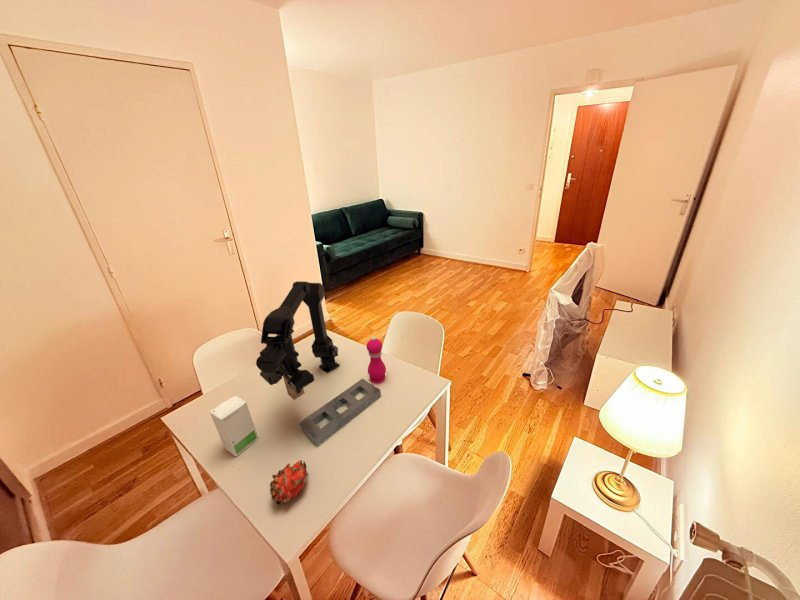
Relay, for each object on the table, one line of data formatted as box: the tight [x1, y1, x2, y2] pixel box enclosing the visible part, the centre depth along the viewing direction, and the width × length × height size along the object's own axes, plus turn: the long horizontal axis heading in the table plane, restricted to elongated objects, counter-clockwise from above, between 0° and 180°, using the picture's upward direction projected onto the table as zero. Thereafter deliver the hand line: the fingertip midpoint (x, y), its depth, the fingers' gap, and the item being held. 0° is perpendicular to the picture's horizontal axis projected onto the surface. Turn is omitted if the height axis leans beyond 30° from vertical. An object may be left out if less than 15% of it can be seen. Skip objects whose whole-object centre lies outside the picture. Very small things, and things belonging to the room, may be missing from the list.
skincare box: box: [209, 395, 259, 457], centre depth 92 cm, size 8×7×16 cm
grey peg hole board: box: [298, 378, 382, 447], centre depth 105 cm, size 10×28×3 cm, turn 138°
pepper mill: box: [366, 336, 387, 385], centre depth 116 cm, size 7×7×20 cm
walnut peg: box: [282, 375, 305, 401], centre depth 98 cm, size 4×4×8 cm
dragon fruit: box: [269, 459, 309, 506], centre depth 80 cm, size 8×8×12 cm
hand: (295, 390), depth 99 cm, fingers closed on walnut peg, 4 cm apart
